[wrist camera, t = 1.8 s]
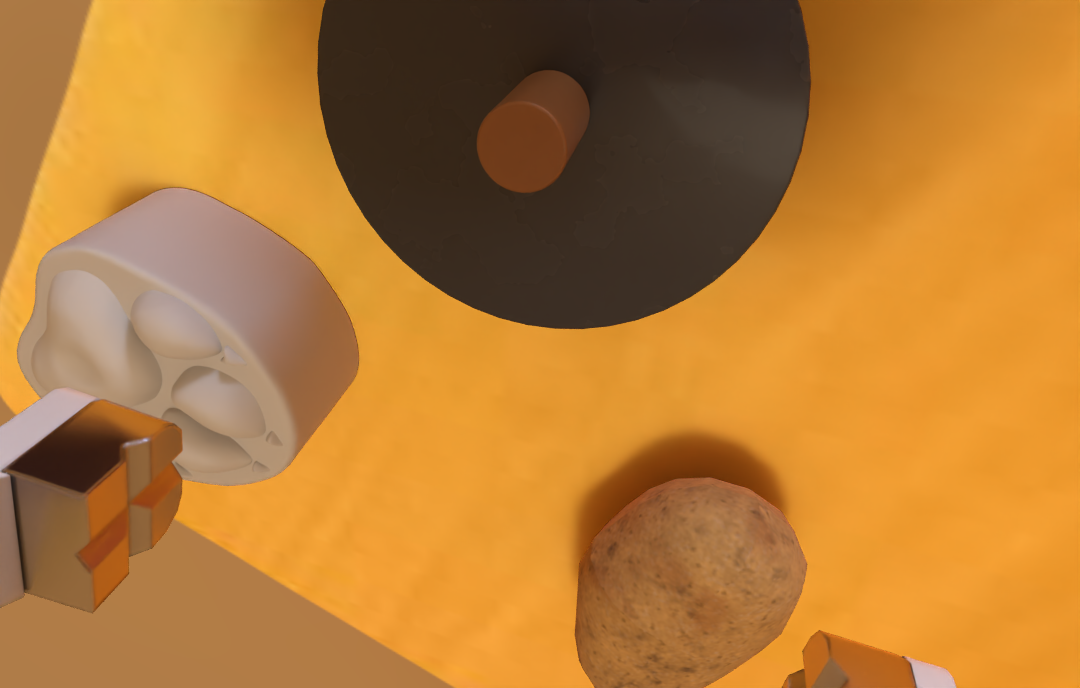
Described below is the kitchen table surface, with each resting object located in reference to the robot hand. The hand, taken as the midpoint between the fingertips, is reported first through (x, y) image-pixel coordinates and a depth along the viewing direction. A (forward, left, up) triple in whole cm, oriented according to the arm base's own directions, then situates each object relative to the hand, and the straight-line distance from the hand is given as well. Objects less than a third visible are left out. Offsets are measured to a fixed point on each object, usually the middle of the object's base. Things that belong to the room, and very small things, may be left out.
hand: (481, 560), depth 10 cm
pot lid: (-1, -3, -18) cm, 18 cm away
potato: (+21, +8, -26) cm, 35 cm away
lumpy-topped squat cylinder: (+16, -17, -26) cm, 35 cm away
